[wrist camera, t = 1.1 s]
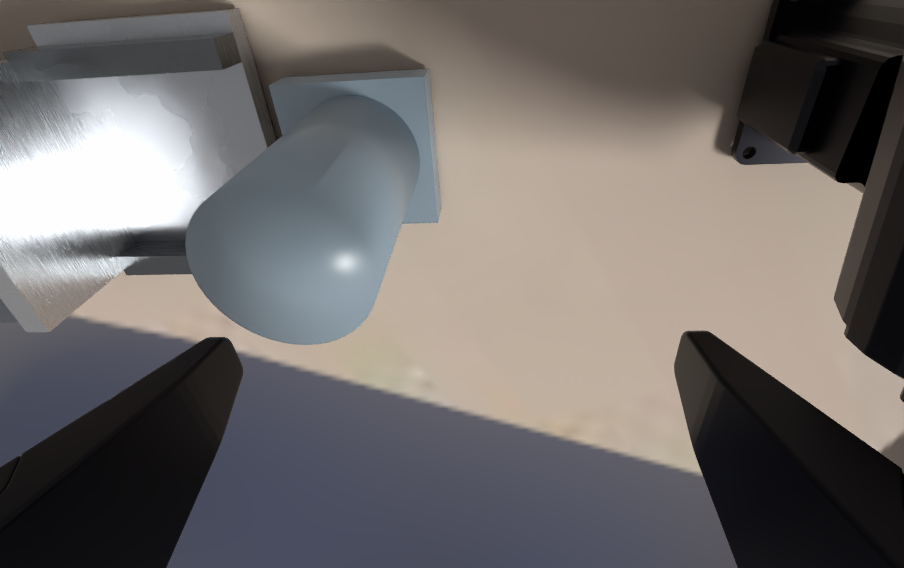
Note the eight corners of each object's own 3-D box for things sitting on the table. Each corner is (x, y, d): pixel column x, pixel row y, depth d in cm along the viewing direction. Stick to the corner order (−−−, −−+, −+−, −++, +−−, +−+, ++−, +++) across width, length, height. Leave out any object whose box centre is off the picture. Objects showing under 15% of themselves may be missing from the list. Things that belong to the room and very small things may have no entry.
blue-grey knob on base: (429, 68, 18) (376, 157, 10) (441, 207, 22) (409, 357, 14) (271, 78, 19) (103, 168, 11) (307, 211, 22) (199, 356, 14)
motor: (239, 8, 18) (115, 32, 12) (309, 257, 24) (250, 351, 18) (-113, 34, 19) (-372, 67, 13) (39, 262, 25) (-93, 350, 20)
